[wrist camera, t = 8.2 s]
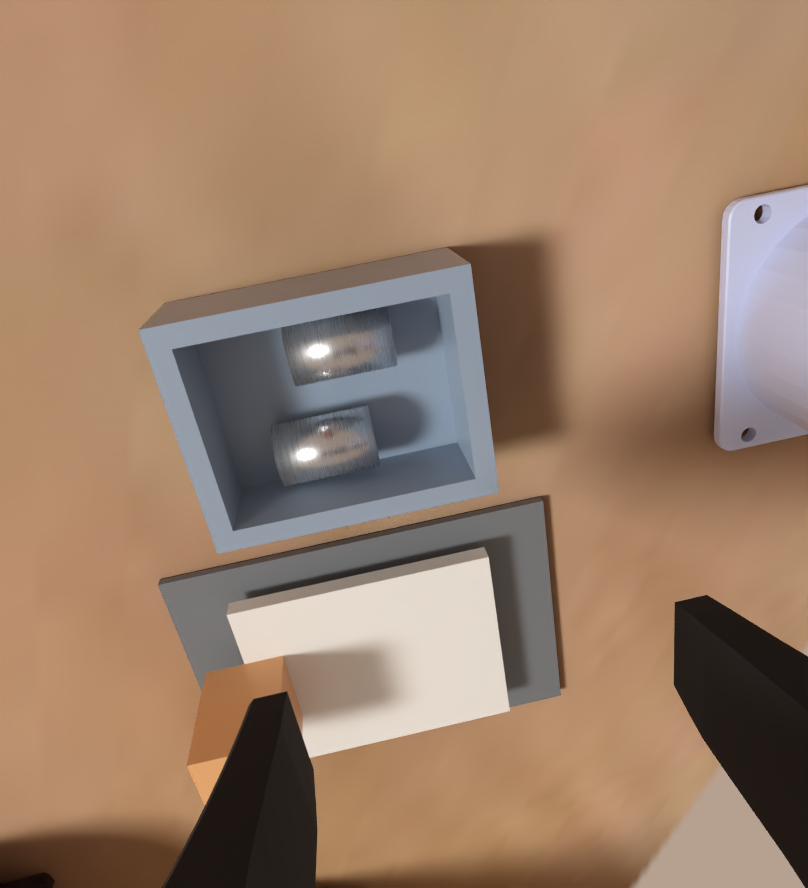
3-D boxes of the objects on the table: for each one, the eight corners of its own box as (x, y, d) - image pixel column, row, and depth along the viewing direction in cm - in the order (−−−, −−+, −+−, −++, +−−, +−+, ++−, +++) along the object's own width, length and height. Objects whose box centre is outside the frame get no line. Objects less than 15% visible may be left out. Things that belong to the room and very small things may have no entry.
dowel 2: (365, 395, 19) (371, 423, 18) (376, 446, 20) (383, 477, 18) (271, 414, 19) (270, 445, 17) (287, 465, 20) (286, 498, 18)
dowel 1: (383, 311, 19) (383, 290, 17) (396, 372, 18) (397, 357, 17) (287, 331, 18) (276, 312, 17) (300, 392, 18) (290, 379, 16)
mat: (540, 496, 22) (543, 500, 22) (557, 689, 26) (560, 695, 26) (159, 579, 21) (157, 584, 21) (235, 764, 25) (235, 771, 25)
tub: (446, 247, 18) (470, 263, 15) (474, 448, 21) (499, 492, 18) (164, 303, 18) (138, 330, 15) (229, 500, 21) (217, 553, 18)
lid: (480, 538, 22) (520, 631, 18) (502, 688, 25) (540, 798, 21) (191, 602, 22) (162, 712, 17) (248, 747, 24) (235, 872, 20)
